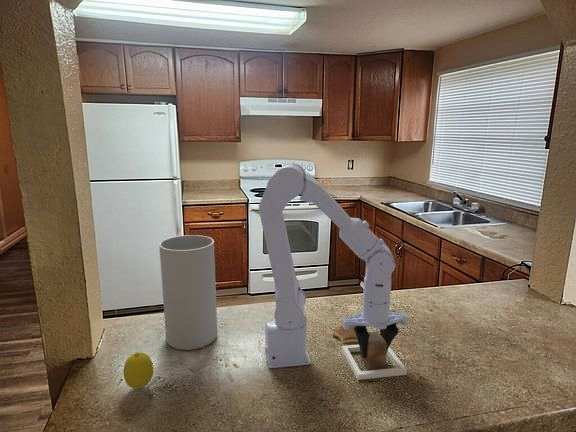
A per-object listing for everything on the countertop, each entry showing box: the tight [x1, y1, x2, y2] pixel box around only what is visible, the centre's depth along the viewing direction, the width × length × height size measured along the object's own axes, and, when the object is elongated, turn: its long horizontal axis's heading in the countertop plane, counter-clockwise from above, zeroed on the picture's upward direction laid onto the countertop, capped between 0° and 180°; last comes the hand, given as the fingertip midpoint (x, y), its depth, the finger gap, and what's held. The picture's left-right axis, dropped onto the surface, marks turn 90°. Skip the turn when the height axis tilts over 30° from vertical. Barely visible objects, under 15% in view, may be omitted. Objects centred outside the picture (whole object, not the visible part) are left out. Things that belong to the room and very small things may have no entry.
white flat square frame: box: [341, 344, 408, 381], centre depth 86 cm, size 11×11×1 cm
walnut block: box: [359, 331, 387, 371], centre depth 86 cm, size 4×5×6 cm
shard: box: [331, 325, 370, 344], centre depth 96 cm, size 11×8×2 cm
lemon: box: [123, 351, 154, 390], centre depth 77 cm, size 6×6×8 cm
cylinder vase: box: [158, 234, 218, 351], centre depth 93 cm, size 12×12×25 cm
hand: (373, 354), depth 86 cm, fingers closed on walnut block, 4 cm apart
